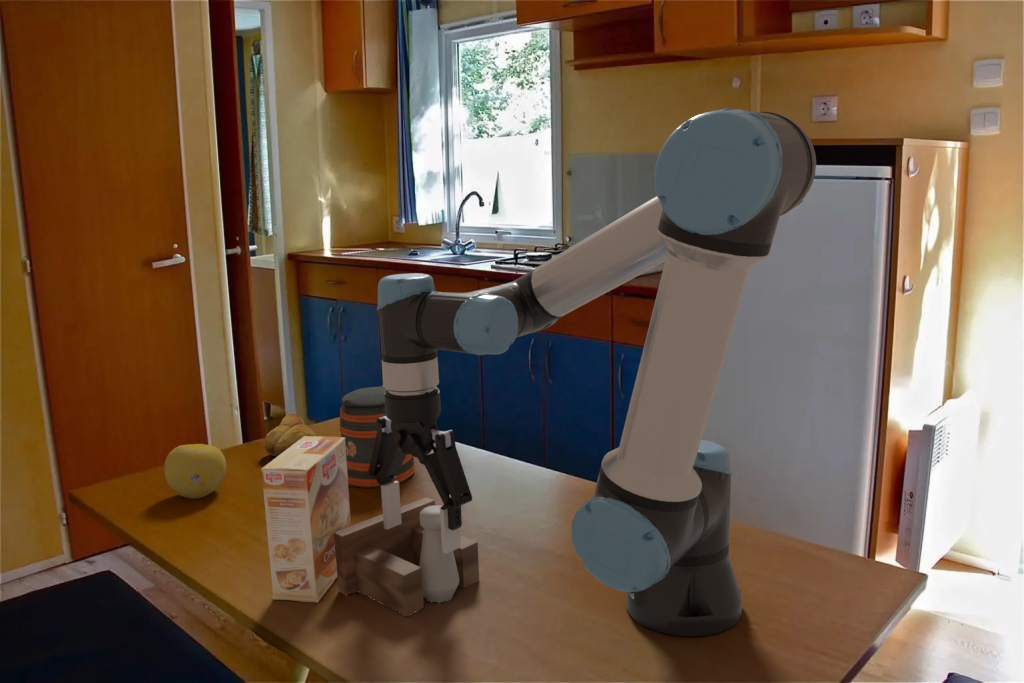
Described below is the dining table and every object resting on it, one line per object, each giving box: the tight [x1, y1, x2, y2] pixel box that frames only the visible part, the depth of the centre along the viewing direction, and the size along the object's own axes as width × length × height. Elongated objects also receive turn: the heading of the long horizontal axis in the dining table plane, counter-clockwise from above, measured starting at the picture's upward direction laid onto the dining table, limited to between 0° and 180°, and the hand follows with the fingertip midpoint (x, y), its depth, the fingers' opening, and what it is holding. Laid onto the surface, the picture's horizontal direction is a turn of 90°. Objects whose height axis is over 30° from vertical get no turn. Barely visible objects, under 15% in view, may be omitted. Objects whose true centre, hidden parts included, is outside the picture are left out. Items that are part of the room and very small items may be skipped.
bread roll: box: [264, 413, 317, 457], centre depth 185 cm, size 13×10×8 cm
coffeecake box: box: [260, 435, 352, 603], centre depth 129 cm, size 15×7×20 cm, turn 170°
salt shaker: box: [419, 504, 459, 604], centre depth 122 cm, size 6×6×13 cm
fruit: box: [163, 443, 227, 500], centre depth 164 cm, size 10×11×10 cm
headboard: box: [334, 496, 480, 617], centre depth 126 cm, size 13×17×9 cm
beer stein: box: [339, 384, 416, 489], centre depth 172 cm, size 19×15×20 cm
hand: (421, 537), depth 124 cm, fingers open, 12 cm apart
